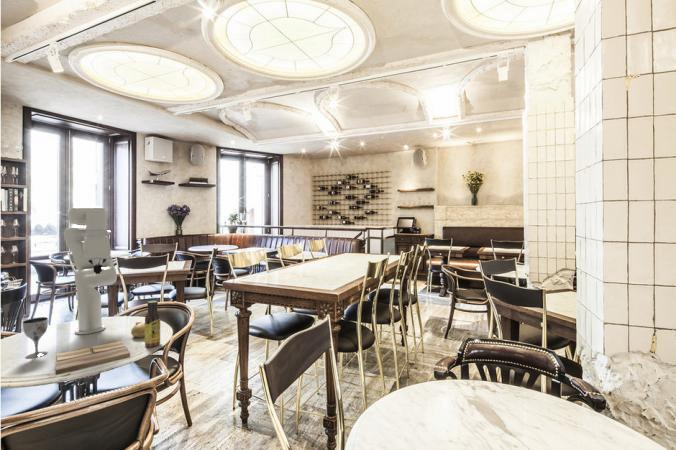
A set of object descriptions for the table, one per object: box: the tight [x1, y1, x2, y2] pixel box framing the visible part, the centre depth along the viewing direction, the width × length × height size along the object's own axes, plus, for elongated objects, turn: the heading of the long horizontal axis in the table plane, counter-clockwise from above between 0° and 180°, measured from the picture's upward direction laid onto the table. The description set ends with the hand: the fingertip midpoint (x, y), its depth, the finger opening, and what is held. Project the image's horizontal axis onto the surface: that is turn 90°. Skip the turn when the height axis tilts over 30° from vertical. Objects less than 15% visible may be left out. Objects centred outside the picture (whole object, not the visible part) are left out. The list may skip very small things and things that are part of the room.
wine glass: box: [22, 316, 49, 360], centre depth 143 cm, size 8×8×15 cm
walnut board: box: [54, 346, 131, 375], centre depth 138 cm, size 9×24×1 cm, turn 130°
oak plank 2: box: [91, 340, 126, 354], centre depth 150 cm, size 10×11×1 cm
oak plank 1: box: [56, 346, 92, 362], centre depth 142 cm, size 10×11×1 cm
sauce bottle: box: [144, 300, 161, 348], centre depth 154 cm, size 6×6×20 cm
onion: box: [130, 321, 145, 339], centre depth 165 cm, size 8×8×7 cm
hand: (97, 273), depth 156 cm, fingers closed
